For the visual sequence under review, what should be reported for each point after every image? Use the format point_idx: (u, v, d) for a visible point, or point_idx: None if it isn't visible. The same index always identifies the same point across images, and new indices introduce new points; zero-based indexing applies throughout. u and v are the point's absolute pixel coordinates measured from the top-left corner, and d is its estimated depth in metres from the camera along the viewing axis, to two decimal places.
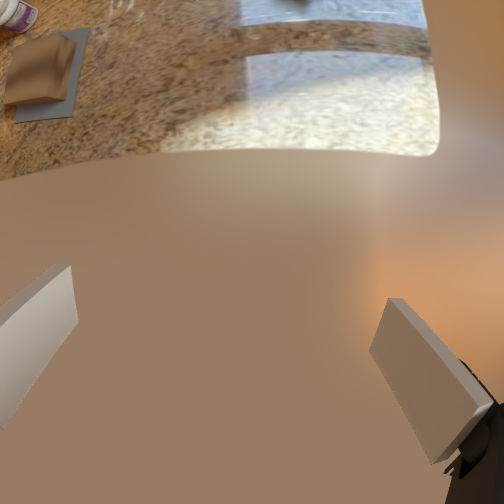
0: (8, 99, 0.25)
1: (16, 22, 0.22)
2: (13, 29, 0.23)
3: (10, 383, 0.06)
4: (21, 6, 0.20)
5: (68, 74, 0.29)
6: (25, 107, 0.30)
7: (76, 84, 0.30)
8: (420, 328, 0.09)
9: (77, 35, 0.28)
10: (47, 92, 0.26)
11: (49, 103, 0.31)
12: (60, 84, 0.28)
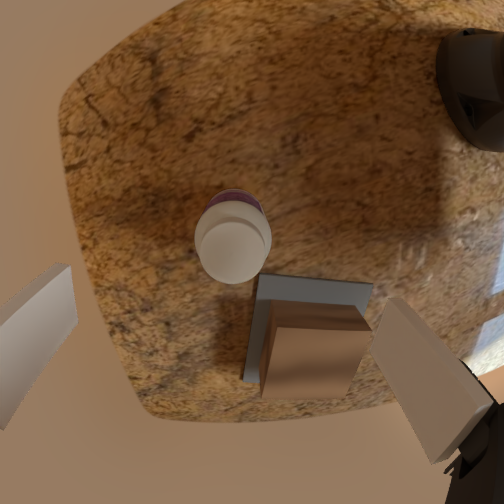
0: (275, 396, 0.27)
1: None
2: None
3: (10, 383, 0.06)
4: None
5: None
6: None
7: None
8: (420, 328, 0.09)
9: (354, 293, 0.29)
10: (345, 394, 0.28)
11: None
12: None
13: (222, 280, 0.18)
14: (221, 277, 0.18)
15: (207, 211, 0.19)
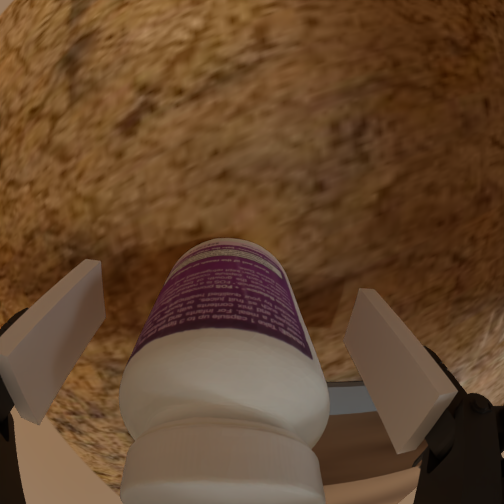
0: None
1: None
2: None
3: (47, 377, 0.07)
4: None
5: None
6: None
7: None
8: (387, 316, 0.10)
9: None
10: None
11: None
12: None
13: None
14: None
15: (139, 360, 0.06)
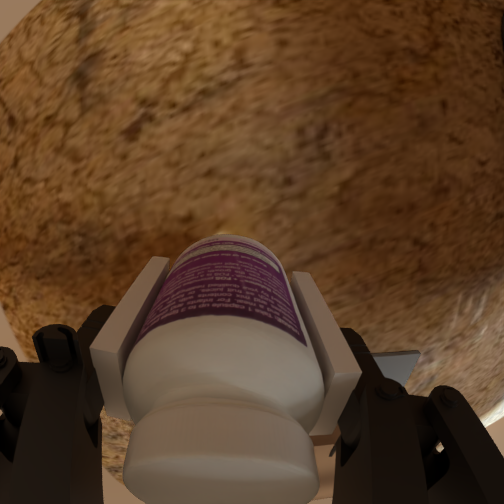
0: None
1: None
2: None
3: None
4: None
5: None
6: None
7: None
8: (309, 297, 0.11)
9: (395, 368, 0.18)
10: None
11: None
12: None
13: None
14: None
15: (143, 346, 0.06)
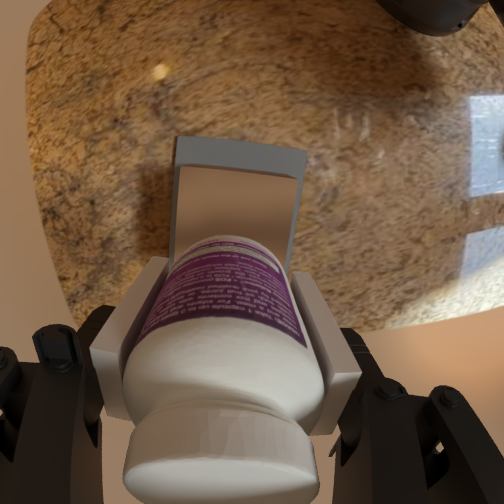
0: None
1: None
2: None
3: None
4: None
5: None
6: None
7: (291, 244, 0.29)
8: (310, 297, 0.11)
9: (285, 160, 0.26)
10: None
11: None
12: None
13: None
14: None
15: (143, 348, 0.06)
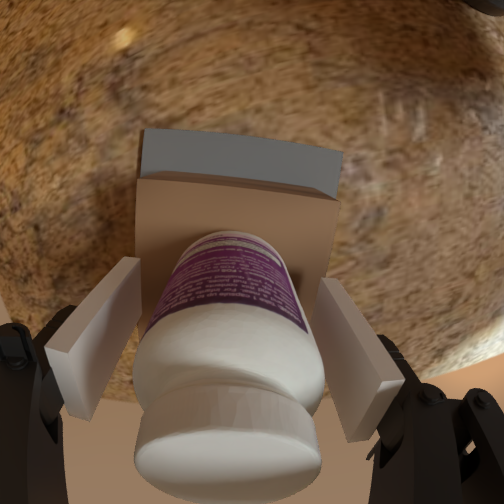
0: None
1: None
2: None
3: (97, 373, 0.07)
4: None
5: None
6: None
7: None
8: (343, 304, 0.10)
9: (310, 165, 0.17)
10: None
11: None
12: None
13: (206, 503, 0.05)
14: (203, 501, 0.05)
15: (154, 333, 0.07)
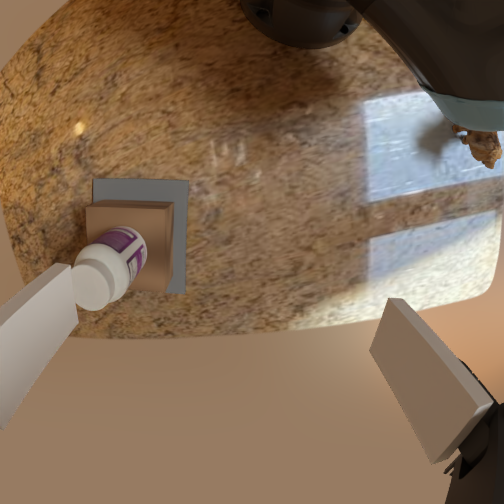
0: None
1: None
2: None
3: (10, 383, 0.06)
4: (132, 267, 0.24)
5: (172, 246, 0.34)
6: None
7: (185, 258, 0.35)
8: (420, 328, 0.09)
9: (171, 190, 0.33)
10: (164, 287, 0.31)
11: None
12: (169, 265, 0.33)
13: (85, 307, 0.21)
14: (84, 305, 0.21)
15: (79, 253, 0.22)
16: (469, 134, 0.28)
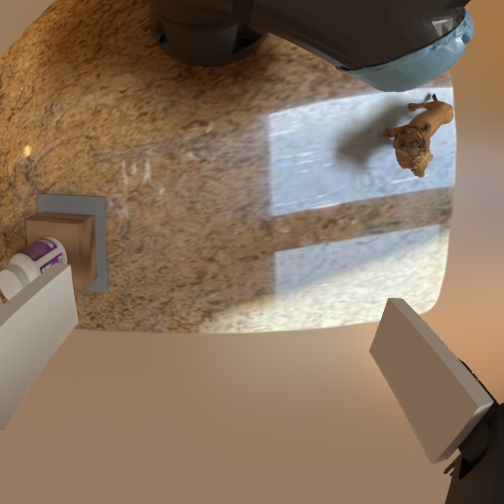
0: None
1: None
2: None
3: (10, 383, 0.06)
4: None
5: (94, 252, 0.37)
6: None
7: (105, 263, 0.38)
8: (420, 328, 0.09)
9: (92, 205, 0.35)
10: (82, 288, 0.34)
11: None
12: (90, 269, 0.36)
13: None
14: None
15: (10, 259, 0.25)
16: (395, 139, 0.30)
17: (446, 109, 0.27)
